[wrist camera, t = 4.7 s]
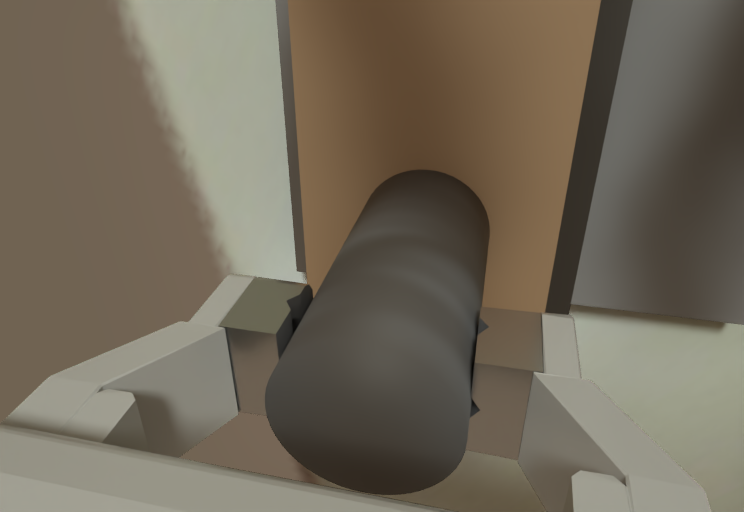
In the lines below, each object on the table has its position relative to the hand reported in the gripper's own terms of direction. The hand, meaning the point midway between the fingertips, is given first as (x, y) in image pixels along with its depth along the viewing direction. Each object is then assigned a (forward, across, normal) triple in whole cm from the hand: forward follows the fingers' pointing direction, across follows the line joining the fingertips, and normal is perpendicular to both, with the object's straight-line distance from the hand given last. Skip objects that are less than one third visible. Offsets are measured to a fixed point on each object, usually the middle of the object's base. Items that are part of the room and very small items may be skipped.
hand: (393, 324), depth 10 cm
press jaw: (+12, 0, 0) cm, 12 cm away
